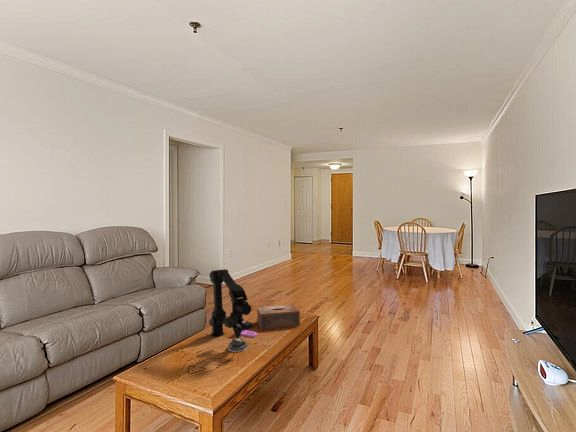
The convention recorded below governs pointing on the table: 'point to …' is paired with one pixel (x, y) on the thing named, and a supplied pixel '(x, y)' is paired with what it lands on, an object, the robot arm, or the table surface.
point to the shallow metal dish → (237, 349)
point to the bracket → (248, 333)
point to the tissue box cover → (278, 316)
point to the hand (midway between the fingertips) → (237, 338)
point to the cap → (237, 342)
